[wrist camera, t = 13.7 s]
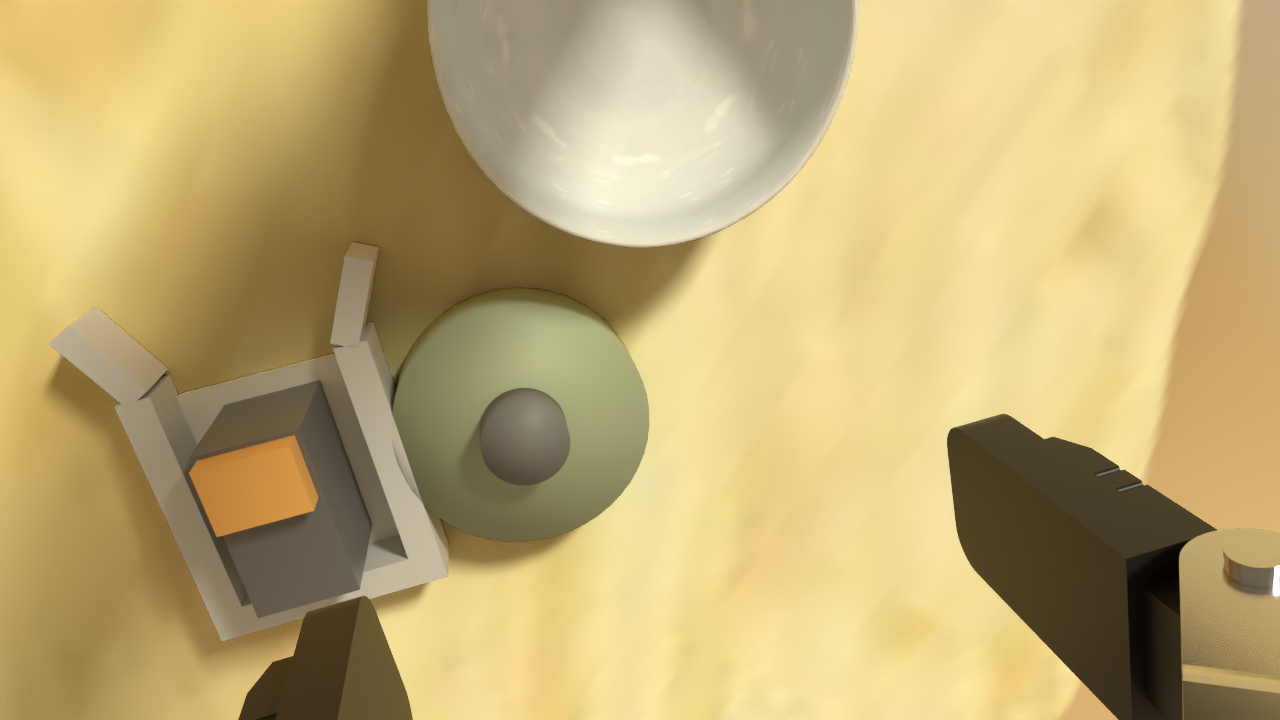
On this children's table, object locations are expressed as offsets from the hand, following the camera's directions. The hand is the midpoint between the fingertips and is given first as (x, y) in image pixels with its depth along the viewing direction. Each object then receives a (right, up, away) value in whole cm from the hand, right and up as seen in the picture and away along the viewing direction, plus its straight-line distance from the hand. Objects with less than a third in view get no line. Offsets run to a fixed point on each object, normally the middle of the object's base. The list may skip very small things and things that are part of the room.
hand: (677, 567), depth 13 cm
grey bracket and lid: (-13, +1, +33) cm, 35 cm away
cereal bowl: (-1, +18, +30) cm, 34 cm away
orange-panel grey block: (-17, -2, +33) cm, 37 cm away
